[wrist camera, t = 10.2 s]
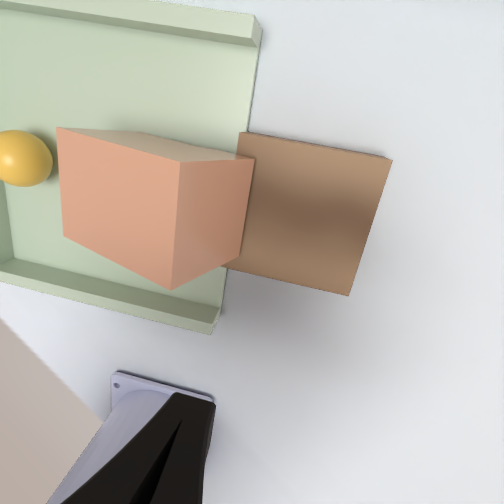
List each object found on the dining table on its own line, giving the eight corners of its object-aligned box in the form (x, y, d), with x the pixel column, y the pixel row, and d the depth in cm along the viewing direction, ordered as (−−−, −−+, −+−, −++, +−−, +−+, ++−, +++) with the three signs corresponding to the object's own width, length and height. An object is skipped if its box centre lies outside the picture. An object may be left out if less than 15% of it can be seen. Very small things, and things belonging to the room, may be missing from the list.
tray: (220, 315, 21) (210, 335, 19) (10, 263, 23) (-19, 276, 21) (262, 30, 15) (254, 15, 13) (-30, -14, 17) (-77, -33, 15)
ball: (-25, 186, 17) (20, 176, 20) (28, 197, 17) (67, 185, 19) (-38, 126, 16) (13, 124, 18) (20, 137, 15) (62, 133, 18)
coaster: (345, 279, 19) (348, 296, 17) (229, 253, 19) (220, 266, 18) (383, 156, 16) (392, 160, 14) (247, 131, 17) (239, 132, 15)
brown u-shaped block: (170, 290, 13) (63, 236, 16) (238, 256, 17) (144, 218, 20) (180, 162, 11) (55, 126, 14) (254, 158, 15) (146, 132, 18)
